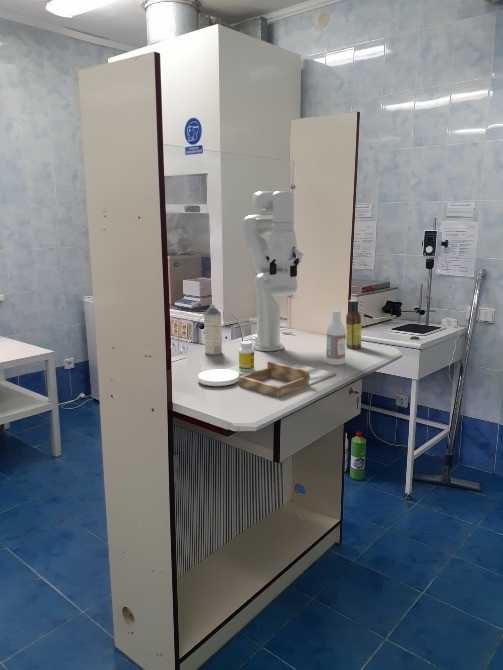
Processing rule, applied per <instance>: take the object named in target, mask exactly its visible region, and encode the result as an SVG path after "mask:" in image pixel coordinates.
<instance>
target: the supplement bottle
mask: <svg viewBox="0 0 503 670" xmlns="http://www.w3.org/2000/svg"><path fill="white" fill-rule="evenodd" d="M238 365H239V369H240V370H242V371H251V370H253V369H254V366H255V349H254V347H253V342H252V341H249V340H247V341H245V340H243V341H241V342H240V348H239V349H238Z"/></svg>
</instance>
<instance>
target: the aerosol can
mask: <svg viewBox="0 0 503 670" xmlns="http://www.w3.org/2000/svg"><path fill="white" fill-rule="evenodd" d="M215 306H216V305H215V304H209V308H208V309H207V310H206V311H204V314H203V319H204V320H203V321H204V322H203V323H204V327H203V329H204V354H205V355H206V356H213V357H214V356H221V355H222V354H223V338H222V337H223V336H222V335H223V333H222V332H223V331H222V313H221V311H220V310H219V309H217V307H215Z"/></svg>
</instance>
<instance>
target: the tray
mask: <svg viewBox="0 0 503 670" xmlns="http://www.w3.org/2000/svg"><path fill="white" fill-rule="evenodd" d="M264 368H265V367H260V366H256V365H254V369H253V370H251V371H242V370H240V369H239V364H237V365H233V366H230V367H228V368H226V369H227V370H233V371H236V372H238V373H239V376H242V375H245V374H249V373H252V372H255V371H258V370H261V369H264Z"/></svg>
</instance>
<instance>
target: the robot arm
mask: <svg viewBox="0 0 503 670" xmlns="http://www.w3.org/2000/svg"><path fill="white" fill-rule="evenodd" d="M251 208H252V212H253V213H255V214H250V215H248V216H246V217H244V218H243V220H242V225H241V228H242V234H243V237H244V241H245V242H246V244H247V246H248V248H249V250H250V252H251V257H252V263H253V267H254V270H255V272H256V274H257V275H256V276H255V278H254V280H253V282H254V284H253V285H254V291H255V298H256V299H255V300H256V334H254V335H253V336H252V337H251V341H253V342H255V343H254V344H253V345H252V348H253V349H254V350H256V351H260V352H277V351H280V350H283V349H284V344H283V343H282V342H281V326H280V325H281V319H280V318H281V315H280V313H281V310H280V309H281V308H280V304H279V302H278V301H277V300H276V298H275V296H290V295H291V296H292V295H293V294H295V293H296V292H297V290H298V279H297V276H298V266H299V264H300V262H301V261H302V258H303V256H304V253H303V252H302V251H300V250H299V249H298V244H297V243H298V242H297V237H296V231H294V227H295V226H294V224H295V221H294V220H295V214H294V213H295V194H294V193H293V192H292V191H290V190H289V191H288V190H285V191H284V190H283V191H282V190H281V191H277V190H276V191H273V190H271V191H257V192H254V193H253V195H252V197H251ZM261 235H269V239H268V240H269V241H267V240H266V239H265V238H264V237H262V236H261Z"/></svg>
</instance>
